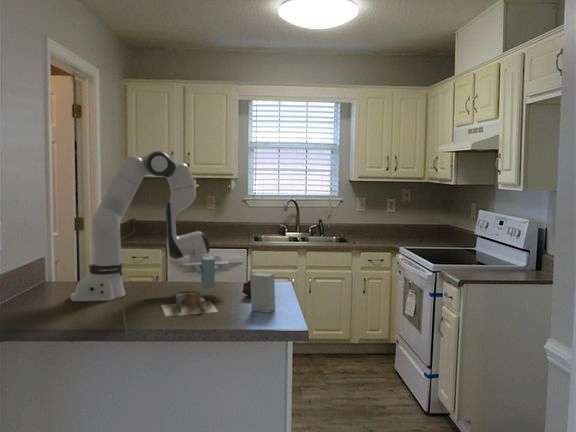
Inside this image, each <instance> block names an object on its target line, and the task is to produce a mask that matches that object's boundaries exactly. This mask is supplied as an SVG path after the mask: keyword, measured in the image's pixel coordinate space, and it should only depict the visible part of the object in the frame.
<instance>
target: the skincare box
mask: <svg viewBox="0 0 576 432" xmlns="http://www.w3.org/2000/svg"><path fill="white" fill-rule="evenodd" d="M249 278H250V280H251V298H250V302H251V306H250V307H251V311H252V312H259V313H267V314H269V313H271V312H273V311H275V310H276V291H275V290H276V289H275V288H276V287H275V273H266V272H255V273H253V274H251V275H250V277H249Z"/></svg>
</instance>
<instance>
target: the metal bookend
mask: <svg viewBox="0 0 576 432" xmlns="http://www.w3.org/2000/svg"><path fill="white" fill-rule="evenodd" d="M175 304H176V307H177V309H178V311H179V313H181V300H180V298H179V296H178V295H177V294H175Z"/></svg>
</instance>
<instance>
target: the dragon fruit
mask: <svg viewBox="0 0 576 432" xmlns="http://www.w3.org/2000/svg"><path fill="white" fill-rule="evenodd" d="M242 286H243V288H242V289H243V290H242V294H245V295H246V296H247V297H248V298H250V299H251V279H250V280H248V281H247V282H244V283H243V285H242Z"/></svg>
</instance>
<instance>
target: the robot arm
mask: <svg viewBox="0 0 576 432" xmlns="http://www.w3.org/2000/svg"><path fill="white" fill-rule="evenodd" d="M148 175H152V176H154V177H165V178H166V179H167V180H166V181H167V183H168V186H169V190H170V191H169V192H170V197H169V201H167V202H166V205H165V217H166V218H165V221H166V223H165V224H166V225H165V226H166V239H167V240H166V252H167V255H168V256H169V257H170V258H172V259H175V260H179V259H181V258H184V257H187V256H188V261H183V262H181V264H179V267H180V268H181V272H182V273H184V274H185V273H187V274H189V273H190V274H191V273H197V274H199V275H201V272H203V268H202V267H201V257H213V258H214V259H215V273H216V272H228V271H229V269H230V264H229V261H227V260H226V259H225V258H223V257H222V256H220V255H219V256H218V255H210V254H209V252H210V242H209V239H208V238H207V237H208V236H206V234H205V233H203V232H202V231H200V230H197V231H193V232H189V233H186V234H181V235H177V226H176V219H177V216H178V215H179V214H180V213H181V212H182V211H184V210H185V209H187V208H188V207H190V206H191V205H193V203H194V202H195V200H196V198H197V189H196V186H195V185H196V184H195V181H194V180H195V179H194V177H193V173H192V172H191V169H190V166H189V165H187V164H186V163H185V162H175V161H174V160H173V159H172V158H171V157H170V156H169V155H168V154H167V153H166V152H164V151H161V150H154V151H151V152H150V153H148V154H147V155H145V156H144V157H140V156H137V155H128V156H127V157H125V159H124V160H123V161H122V163H121V164H120V166H119V167H118V169H117V170H116V173H115V174H114V176H113V178H112V180H111V181H110V184H109V185H108V187H107V189H106V191H105V194H104V195H103V197H102V200H101V202H100V203H99V205H98V207H97V210H96V211H95V213H94V214H93V216H92V220H91V222H92V223H91V224H92V238H93V259H94V260H93V262H94V263H89V265H88V268H89V269H88V270H89V273H88V274H87V275H85V276H84V277H83V278H82V279H80V280H79V281H78V282H77V284H76V287H75V292H72V293H71V294H70V295H69V299H70V301H71V302H101V301H104V302H105V301H112V300H114V299H119V298H122V297H124V296H126V294H127V293H126V290H125V288H124V287H125V286H124V282H123V273H124V271H123V263H122V245H121V244H122V243H121V242H122V241H121V221H122V220H123V217H124V216H125V214H126V212H127V209H128V208H129V206H130V205H131V203H132V201H133V199H134V196H135V195H136V193H137V191H138V189H139V187H140V185H141V183H142V181H143V179H144V178H145V177H146V176H148Z"/></svg>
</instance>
